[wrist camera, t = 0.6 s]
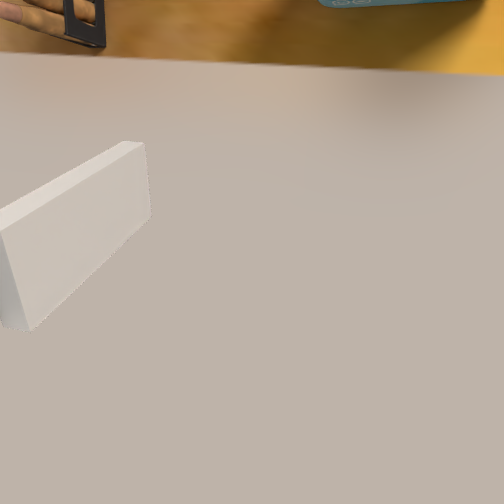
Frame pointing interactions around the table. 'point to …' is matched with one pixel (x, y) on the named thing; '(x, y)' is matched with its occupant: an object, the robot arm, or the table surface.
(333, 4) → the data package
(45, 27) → the ammunition clip
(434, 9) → the table surface
